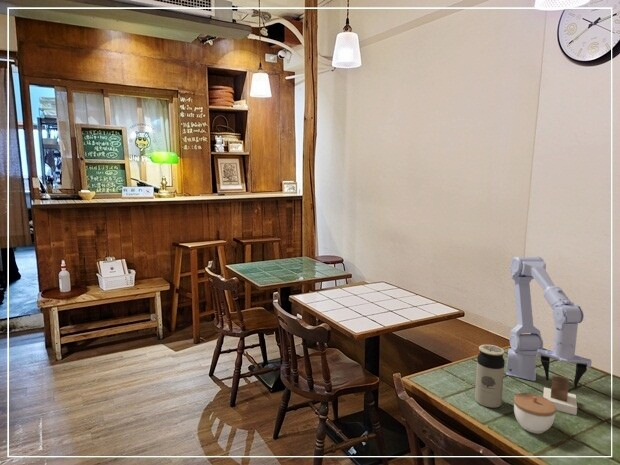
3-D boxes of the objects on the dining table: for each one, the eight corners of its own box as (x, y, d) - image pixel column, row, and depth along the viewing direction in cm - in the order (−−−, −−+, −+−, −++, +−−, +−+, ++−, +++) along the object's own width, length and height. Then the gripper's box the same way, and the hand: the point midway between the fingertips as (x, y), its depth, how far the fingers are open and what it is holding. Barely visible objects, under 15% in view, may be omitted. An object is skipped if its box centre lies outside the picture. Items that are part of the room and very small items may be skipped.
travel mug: (480, 392, 137) (484, 342, 135) (505, 401, 132) (509, 349, 129) (470, 401, 132) (474, 348, 129) (495, 411, 126) (499, 356, 124)
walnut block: (550, 397, 130) (552, 379, 129) (551, 391, 134) (552, 374, 133) (567, 401, 127) (568, 383, 127) (567, 395, 131) (569, 378, 130)
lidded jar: (553, 443, 111) (556, 411, 110) (510, 430, 117) (512, 400, 115) (554, 423, 120) (556, 394, 119) (513, 412, 126) (516, 384, 124)
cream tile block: (542, 408, 129) (543, 399, 129) (543, 395, 137) (544, 387, 136) (576, 416, 125) (577, 407, 124) (574, 403, 132) (575, 394, 132)
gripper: (538, 341, 128) (534, 381, 130) (594, 351, 121) (589, 394, 123) (539, 334, 134) (535, 372, 136) (591, 343, 127) (587, 384, 129)
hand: (561, 382), depth 130 cm, fingers open, 7 cm apart
